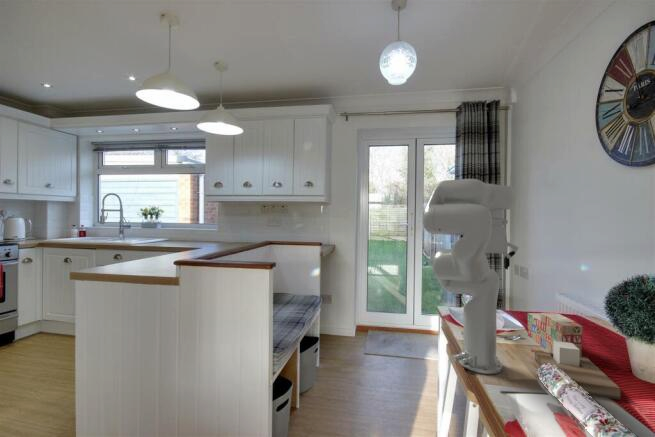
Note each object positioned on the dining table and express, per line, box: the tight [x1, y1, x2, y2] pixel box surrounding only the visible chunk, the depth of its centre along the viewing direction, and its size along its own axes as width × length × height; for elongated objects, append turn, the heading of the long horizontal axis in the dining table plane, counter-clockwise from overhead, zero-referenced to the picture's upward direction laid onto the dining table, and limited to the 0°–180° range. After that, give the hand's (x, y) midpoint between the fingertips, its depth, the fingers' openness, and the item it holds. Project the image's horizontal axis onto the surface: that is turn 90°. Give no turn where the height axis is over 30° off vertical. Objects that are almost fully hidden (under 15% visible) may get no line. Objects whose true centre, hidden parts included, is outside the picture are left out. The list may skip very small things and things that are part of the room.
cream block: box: [553, 341, 580, 367], centre depth 93 cm, size 5×5×7 cm
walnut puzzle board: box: [534, 350, 621, 400], centre depth 89 cm, size 18×14×3 cm
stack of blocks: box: [526, 312, 583, 357], centre depth 109 cm, size 21×6×12 cm, turn 173°
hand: (491, 268), depth 113 cm, fingers open, 9 cm apart
